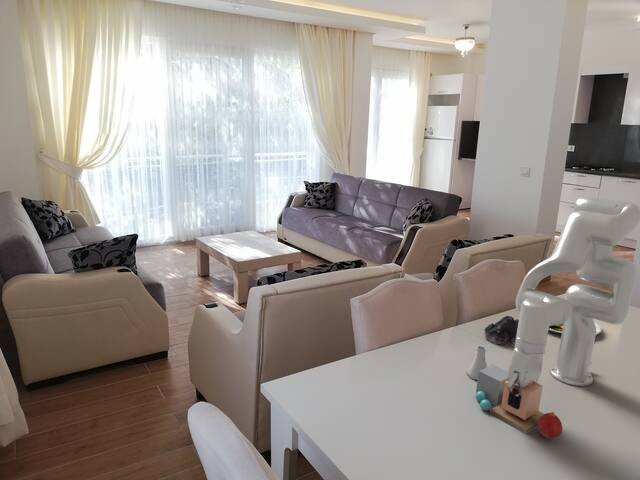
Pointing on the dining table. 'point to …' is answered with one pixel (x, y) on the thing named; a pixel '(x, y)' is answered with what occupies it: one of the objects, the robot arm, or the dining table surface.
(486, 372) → the gray cube
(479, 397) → the teal marble
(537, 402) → the peach cube
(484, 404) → the teal marble
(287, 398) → the dining table surface
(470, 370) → the flask
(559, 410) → the dining table surface
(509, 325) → the crystal cluster
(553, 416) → the red rounded lump
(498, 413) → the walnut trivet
